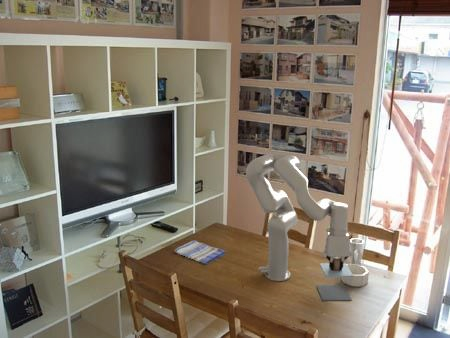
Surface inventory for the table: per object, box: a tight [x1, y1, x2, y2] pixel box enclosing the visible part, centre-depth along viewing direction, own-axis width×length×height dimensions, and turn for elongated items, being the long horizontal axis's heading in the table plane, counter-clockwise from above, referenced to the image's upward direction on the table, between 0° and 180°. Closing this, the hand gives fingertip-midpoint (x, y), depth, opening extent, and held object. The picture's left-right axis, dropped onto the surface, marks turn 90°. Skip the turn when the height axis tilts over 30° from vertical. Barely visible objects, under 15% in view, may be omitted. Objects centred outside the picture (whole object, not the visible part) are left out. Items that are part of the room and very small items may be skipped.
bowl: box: [340, 263, 370, 288], centre depth 222 cm, size 12×12×6 cm
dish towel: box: [173, 239, 226, 265], centre depth 251 cm, size 17×24×3 cm
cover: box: [319, 257, 353, 278], centre depth 208 cm, size 12×12×6 cm
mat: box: [316, 284, 353, 302], centre depth 212 cm, size 13×13×1 cm
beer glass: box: [348, 237, 365, 266], centre depth 233 cm, size 7×7×15 cm
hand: (336, 268), depth 208 cm, fingers closed on cover, 3 cm apart
